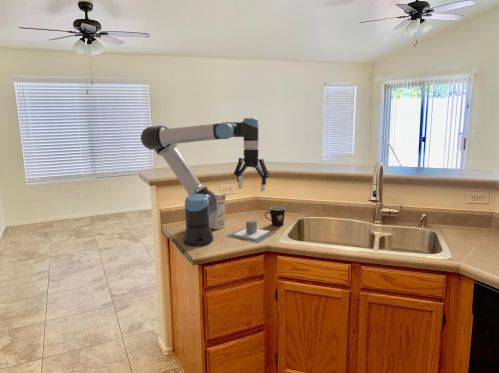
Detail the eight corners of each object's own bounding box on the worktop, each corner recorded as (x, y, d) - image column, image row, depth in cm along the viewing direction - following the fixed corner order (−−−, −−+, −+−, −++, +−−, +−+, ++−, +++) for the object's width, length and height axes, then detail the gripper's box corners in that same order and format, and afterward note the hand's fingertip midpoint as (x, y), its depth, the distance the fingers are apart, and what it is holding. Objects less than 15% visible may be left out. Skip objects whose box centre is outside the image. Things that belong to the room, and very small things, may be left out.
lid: (233, 235, 192) (232, 223, 191) (247, 228, 204) (247, 216, 202) (255, 240, 185) (255, 227, 183) (269, 232, 196) (269, 220, 195)
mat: (225, 237, 191) (225, 236, 191) (246, 227, 208) (246, 226, 208) (257, 243, 181) (257, 243, 181) (277, 232, 197) (277, 232, 197)
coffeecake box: (225, 227, 208) (226, 193, 205) (216, 229, 203) (217, 195, 200) (207, 223, 218) (207, 190, 215) (198, 225, 212) (198, 191, 210)
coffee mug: (285, 223, 215) (285, 206, 213) (285, 227, 207) (285, 210, 205) (265, 222, 216) (265, 206, 214) (264, 227, 208) (264, 210, 206)
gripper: (276, 149, 183) (275, 190, 187) (235, 147, 196) (235, 186, 200) (268, 150, 177) (268, 193, 181) (226, 148, 190) (227, 188, 194)
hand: (251, 189), depth 190 cm, fingers open, 13 cm apart
